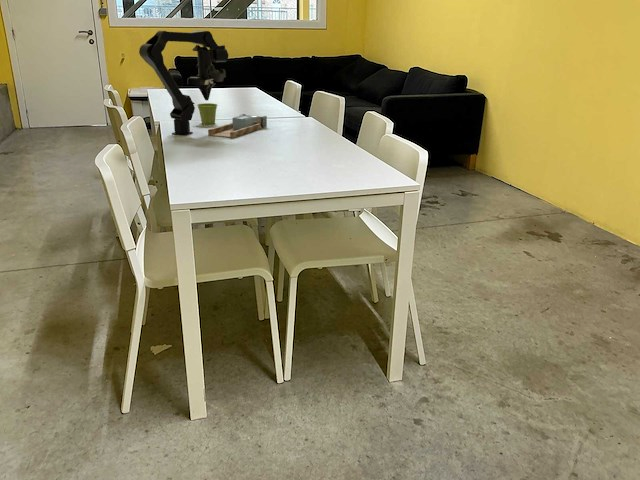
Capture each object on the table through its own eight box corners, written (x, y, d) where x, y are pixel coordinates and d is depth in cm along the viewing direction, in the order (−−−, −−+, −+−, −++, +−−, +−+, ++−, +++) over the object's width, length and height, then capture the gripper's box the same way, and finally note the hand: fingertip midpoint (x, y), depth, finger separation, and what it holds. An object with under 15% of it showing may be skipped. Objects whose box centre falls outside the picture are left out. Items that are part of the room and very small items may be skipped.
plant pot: (214, 125, 245) (213, 106, 242) (195, 124, 247) (193, 105, 243) (221, 122, 254) (220, 103, 251) (202, 121, 255) (201, 102, 252)
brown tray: (232, 138, 220) (232, 130, 219) (208, 135, 224) (207, 127, 223) (260, 129, 241) (260, 121, 239) (237, 126, 245) (237, 119, 244)
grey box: (246, 129, 234) (246, 118, 232) (232, 128, 237) (232, 117, 235) (254, 127, 240) (254, 116, 238) (240, 125, 243) (240, 115, 241)
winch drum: (262, 128, 242) (262, 117, 240) (239, 125, 246) (239, 114, 245) (267, 126, 246) (267, 116, 244) (244, 124, 250) (244, 113, 248)
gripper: (208, 64, 212) (210, 104, 218) (232, 62, 228) (234, 99, 234) (185, 63, 216) (188, 102, 222) (211, 61, 232) (212, 97, 238)
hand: (206, 100), depth 229 cm, fingers closed
